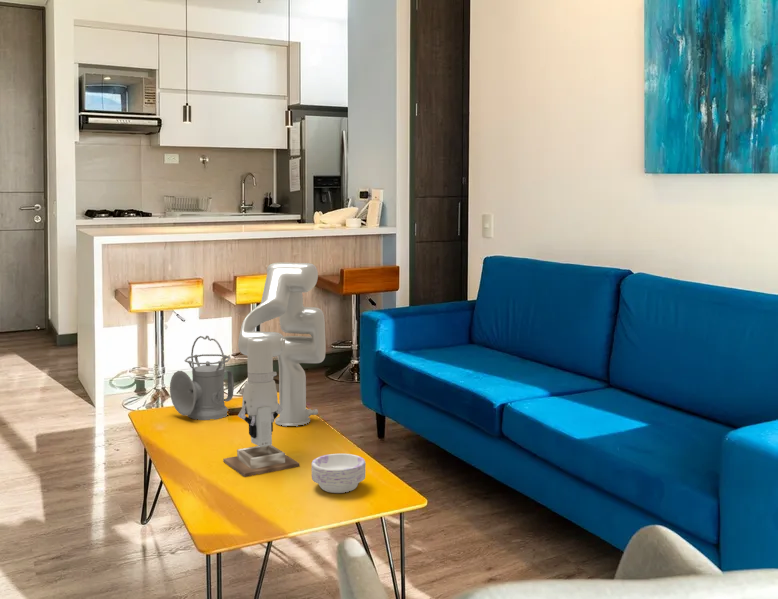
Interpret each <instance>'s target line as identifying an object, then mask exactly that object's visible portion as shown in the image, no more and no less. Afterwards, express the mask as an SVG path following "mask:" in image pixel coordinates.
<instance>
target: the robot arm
mask: <svg viewBox="0 0 778 599" xmlns="http://www.w3.org/2000/svg"><path fill="white" fill-rule="evenodd" d="M318 278H319V272H318V268H317V267H316V265H315V264H313V263H308V262H307V263H306V262H273V263H271V264H269V265H268V266H267V268H266V279H265V283H264V288H263V290H262V291H263V293H262V297H261V302H260V303H259V304H258V305H257V306H255V307H254V308H253V309H252V310H251V311H250V312H248V314H246V316H245V318H244V319H243V321H242V324H241V327H240V331H239V336H238V343H237V347H238V350H239V353H240V354H242V355H244V356H247V381H245V382H244V386H243V391H242V392H243V393H242V403H241V405H242V406H241V409H240V411H239V413H238V414H237V417H239V418H240V419H242V420H243V421H245V422H246V423H247V424H248V434H249V436H250V438H251V437H253V438H256V425H255V419H256V416H257V413H258V408H261V407H269V406H270V407H271V431H272V433H273V431H274V422H275V424H276V425H278V426H281V425H282V426H281V427H287V426H296V427H299V426H298V425H303V426H305V425H304V424H306V425H308V424H310V423H311V418H310V417H311V416H315V415H316V416H317V415H319V411H318V409H317V408H316V409H311V408H307V403H306V402H307V398H306V397H307V388H306V387H307V378H306V377H307V375H306V371H305V370H304V369H303V367H302V365H301V364H320V363H322V362H324V360H325V358H326V350H327V349H326V348H327V346H326V345H327V344H326V322H325V321H326V319H325V314H324V311H323V310H322V309H321V308H318V307H315V306H313V307H312V306H304V298H303V296H304V295H303V294H304V293H308V292H310V291H311V290H312V289H314V288H315V286H316V285H317V282H318ZM276 318H279V326H280V330H281V331H282V332H284V333H288V334H301V335H287V336H286V335H285V336H284V335H283V334H282V333H280V332H275V331H255V330H254V329H256V327H258V326H259V325H261V324H263V323H265V322H269V321H271V320H274V319H276ZM302 334H303V335H310V336H303V335H302ZM273 357H277V362H278V373H277V371H274V368H273V366H274V363H273V362H274V359H273ZM277 375H278V376H279V377H278V378H279V379H278V385H279V386H278V388H279V392H277V385H276V381H275V380H274V377H277ZM278 393H279V394H278ZM278 396H279V397H278ZM278 398H279V399H278ZM246 414H247V415H246ZM309 422H310V423H309ZM307 423H308V424H307Z"/></svg>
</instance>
